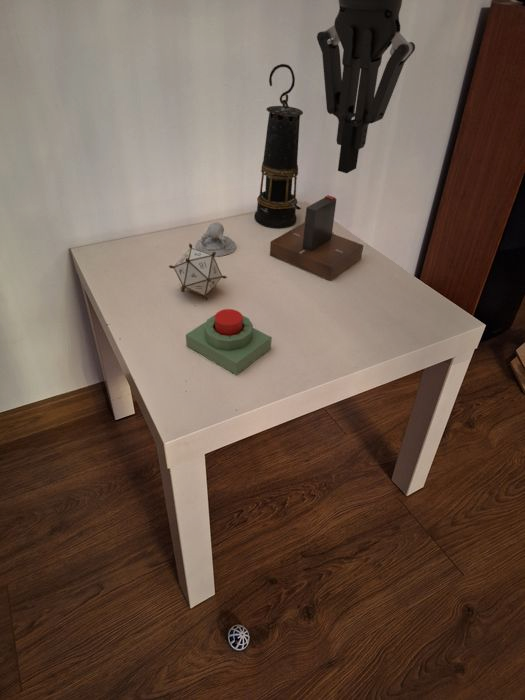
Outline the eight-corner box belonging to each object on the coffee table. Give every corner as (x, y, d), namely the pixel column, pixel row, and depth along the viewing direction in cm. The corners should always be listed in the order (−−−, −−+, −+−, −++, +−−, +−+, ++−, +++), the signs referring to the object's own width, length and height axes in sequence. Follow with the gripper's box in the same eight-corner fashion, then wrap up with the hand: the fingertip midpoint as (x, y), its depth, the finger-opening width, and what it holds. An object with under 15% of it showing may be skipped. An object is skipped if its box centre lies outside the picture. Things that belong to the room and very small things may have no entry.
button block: (271, 348, 80) (272, 327, 78) (236, 375, 75) (236, 353, 73) (222, 322, 85) (221, 301, 82) (186, 346, 80) (184, 324, 77)
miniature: (239, 239, 107) (239, 217, 104) (232, 258, 101) (232, 235, 98) (200, 235, 108) (199, 213, 105) (191, 254, 102) (189, 230, 99)
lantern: (301, 226, 113) (316, 70, 94) (259, 229, 111) (266, 71, 92) (290, 209, 119) (301, 59, 101) (250, 211, 118) (254, 60, 99)
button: (247, 327, 78) (248, 316, 77) (229, 340, 76) (229, 328, 74) (227, 316, 80) (227, 305, 79) (209, 328, 77) (209, 317, 76)
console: (361, 258, 103) (364, 244, 101) (330, 281, 96) (332, 266, 94) (302, 235, 109) (304, 221, 107) (269, 255, 102) (270, 240, 100)
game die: (197, 316, 92) (173, 293, 83) (178, 279, 96) (152, 254, 86) (240, 288, 92) (221, 263, 82) (220, 253, 95) (198, 224, 86)
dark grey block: (311, 251, 98) (315, 209, 93) (302, 247, 99) (306, 206, 94) (331, 238, 102) (336, 197, 97) (322, 235, 103) (327, 194, 98)
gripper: (440, -29, 61) (399, 174, 76) (342, -37, 67) (322, 152, 82) (412, -27, 56) (374, 189, 71) (310, -36, 62) (295, 165, 77)
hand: (347, 169), depth 76 cm, fingers closed
